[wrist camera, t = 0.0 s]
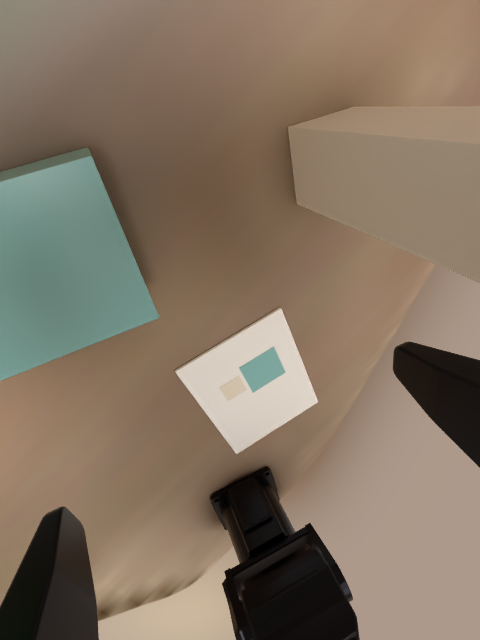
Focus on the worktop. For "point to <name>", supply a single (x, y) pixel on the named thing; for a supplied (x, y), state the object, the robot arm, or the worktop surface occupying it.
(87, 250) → the base brick
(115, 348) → the worktop surface
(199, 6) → the worktop surface
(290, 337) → the page
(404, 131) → the tall brick
